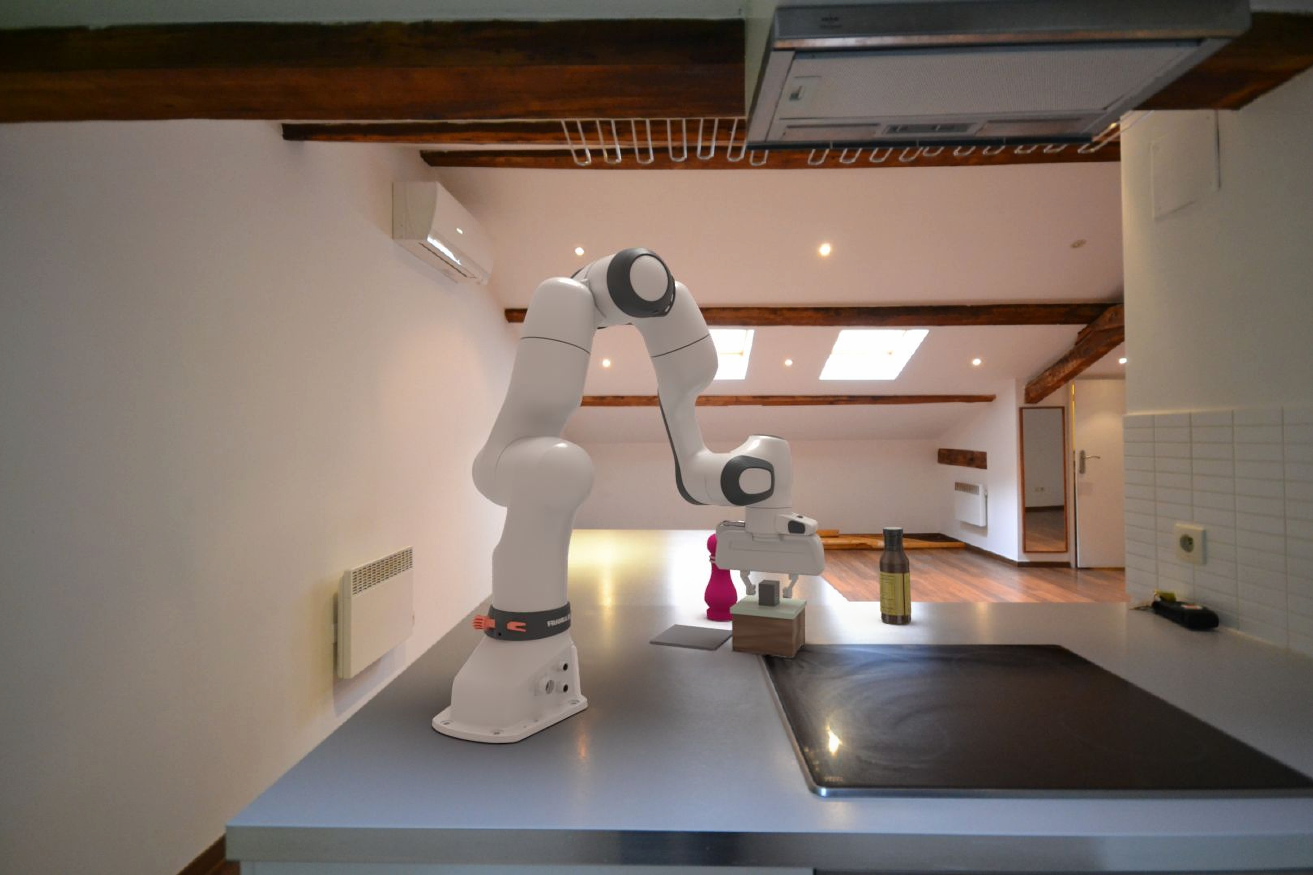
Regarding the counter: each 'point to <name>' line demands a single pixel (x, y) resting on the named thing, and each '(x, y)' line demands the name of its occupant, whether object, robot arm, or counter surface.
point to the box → (768, 634)
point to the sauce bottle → (894, 579)
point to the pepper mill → (719, 588)
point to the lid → (769, 603)
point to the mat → (693, 637)
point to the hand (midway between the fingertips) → (769, 596)
